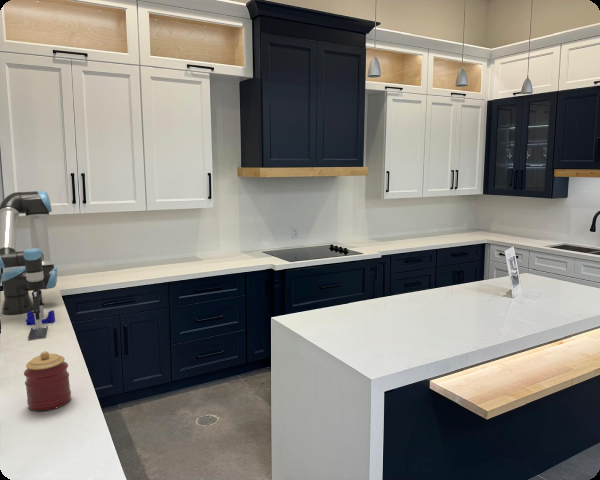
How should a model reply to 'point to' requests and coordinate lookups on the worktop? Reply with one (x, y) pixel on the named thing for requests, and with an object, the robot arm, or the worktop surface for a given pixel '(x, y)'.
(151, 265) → the worktop surface
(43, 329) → the rail
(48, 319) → the cable clip
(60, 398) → the canister
